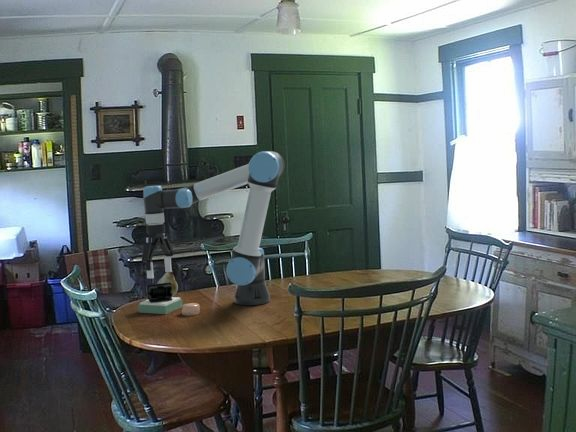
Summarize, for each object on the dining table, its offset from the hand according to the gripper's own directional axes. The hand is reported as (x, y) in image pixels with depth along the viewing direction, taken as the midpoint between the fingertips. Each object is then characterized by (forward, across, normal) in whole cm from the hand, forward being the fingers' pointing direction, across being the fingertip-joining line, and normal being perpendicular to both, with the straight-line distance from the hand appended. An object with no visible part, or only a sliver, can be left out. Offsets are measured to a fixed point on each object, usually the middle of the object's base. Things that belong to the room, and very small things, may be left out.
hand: (159, 275), depth 285 cm
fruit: (+15, -21, -11) cm, 28 cm away
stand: (+14, 0, -1) cm, 15 cm away
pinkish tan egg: (+15, +3, +15) cm, 22 cm away
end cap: (+11, 0, -1) cm, 11 cm away
